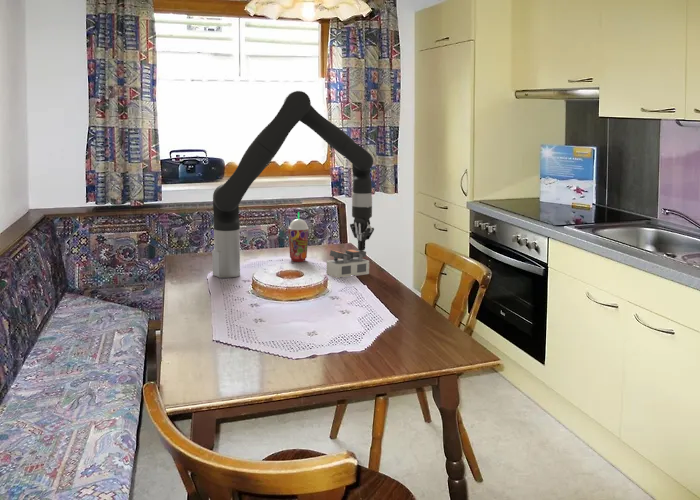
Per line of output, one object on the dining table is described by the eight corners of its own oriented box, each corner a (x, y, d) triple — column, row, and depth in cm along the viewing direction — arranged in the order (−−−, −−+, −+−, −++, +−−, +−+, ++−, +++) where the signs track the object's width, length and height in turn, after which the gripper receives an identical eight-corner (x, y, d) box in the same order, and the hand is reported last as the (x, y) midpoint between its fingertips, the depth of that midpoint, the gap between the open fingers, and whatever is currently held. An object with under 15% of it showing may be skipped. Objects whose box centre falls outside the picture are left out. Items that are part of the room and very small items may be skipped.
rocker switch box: (338, 278, 250) (338, 257, 249) (326, 273, 257) (326, 254, 255) (369, 274, 258) (369, 254, 257) (356, 269, 265) (357, 250, 263)
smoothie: (299, 263, 274) (299, 214, 270) (283, 260, 279) (283, 212, 275) (312, 260, 280) (313, 212, 277) (297, 257, 285) (297, 210, 281)
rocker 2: (353, 257, 254) (353, 252, 254) (345, 255, 259) (345, 249, 258) (366, 256, 258) (366, 251, 258) (358, 254, 262) (358, 249, 262)
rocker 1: (337, 257, 250) (338, 252, 250) (329, 255, 255) (330, 249, 255) (350, 260, 254) (351, 254, 254) (342, 257, 258) (343, 252, 258)
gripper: (343, 203, 259) (343, 248, 263) (364, 207, 249) (363, 254, 252) (360, 202, 263) (359, 246, 267) (380, 206, 253) (379, 252, 256)
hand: (361, 250), depth 259 cm, fingers closed
